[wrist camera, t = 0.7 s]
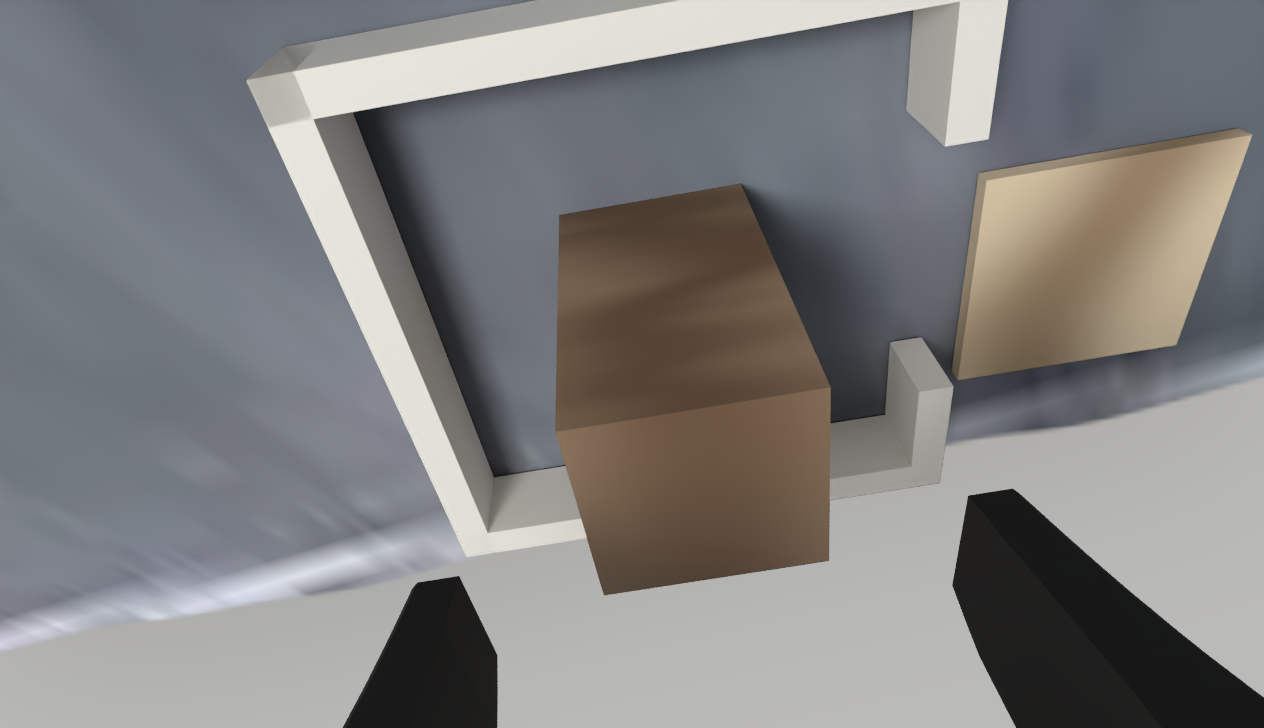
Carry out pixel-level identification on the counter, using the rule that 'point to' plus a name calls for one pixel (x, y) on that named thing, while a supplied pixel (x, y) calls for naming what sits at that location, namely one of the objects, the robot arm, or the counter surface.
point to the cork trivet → (1091, 252)
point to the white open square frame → (546, 46)
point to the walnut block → (687, 394)
